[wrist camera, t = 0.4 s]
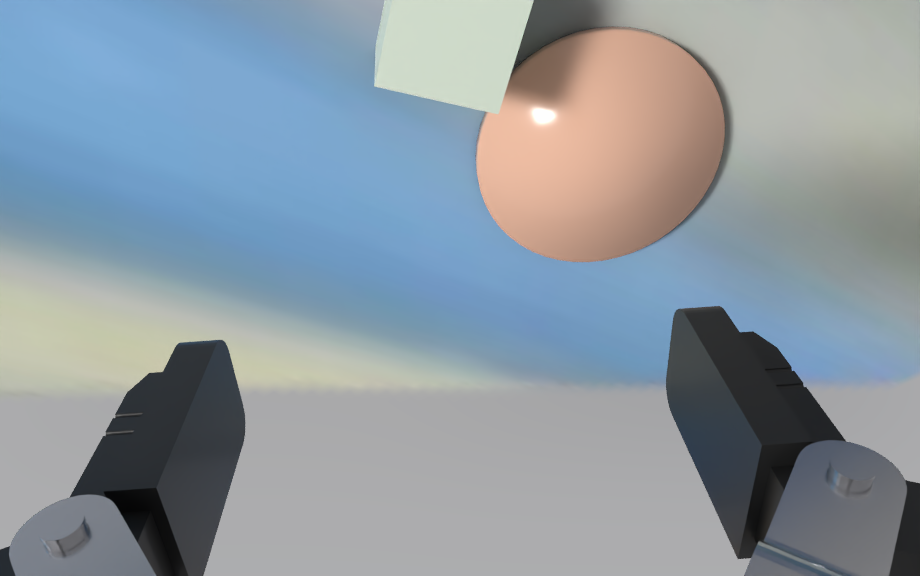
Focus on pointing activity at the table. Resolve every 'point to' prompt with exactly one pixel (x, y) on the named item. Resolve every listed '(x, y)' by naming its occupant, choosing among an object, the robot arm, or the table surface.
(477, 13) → the sage block
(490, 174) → the salmon disc
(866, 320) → the table surface
